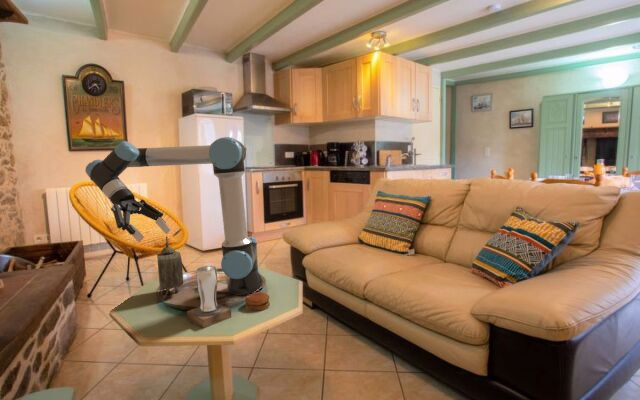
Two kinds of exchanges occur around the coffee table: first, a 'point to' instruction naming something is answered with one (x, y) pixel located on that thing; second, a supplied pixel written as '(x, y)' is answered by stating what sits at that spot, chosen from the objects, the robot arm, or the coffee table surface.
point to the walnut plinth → (208, 316)
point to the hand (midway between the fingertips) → (155, 235)
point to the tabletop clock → (169, 269)
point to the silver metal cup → (207, 288)
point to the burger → (257, 301)
